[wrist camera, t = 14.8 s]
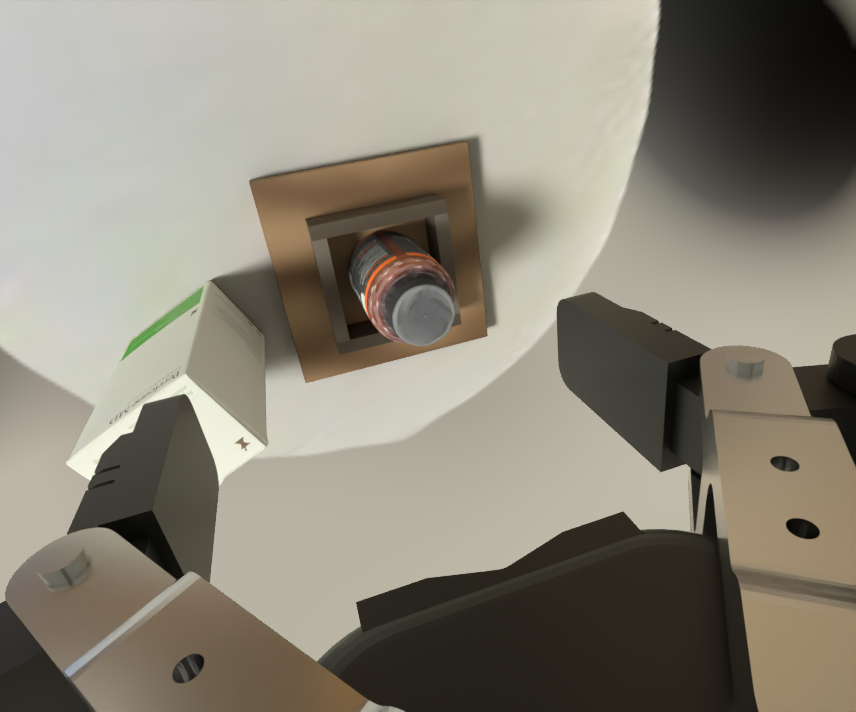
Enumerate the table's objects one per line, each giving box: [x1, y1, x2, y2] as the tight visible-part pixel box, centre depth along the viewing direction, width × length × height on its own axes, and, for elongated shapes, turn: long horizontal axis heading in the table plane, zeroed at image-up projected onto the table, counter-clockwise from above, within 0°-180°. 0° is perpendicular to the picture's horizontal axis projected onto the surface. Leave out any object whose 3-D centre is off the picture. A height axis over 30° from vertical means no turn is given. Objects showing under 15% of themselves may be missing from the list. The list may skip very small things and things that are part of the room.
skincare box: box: [66, 281, 268, 486], centre depth 36 cm, size 8×7×16 cm
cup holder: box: [249, 141, 487, 383], centre depth 42 cm, size 16×16×4 cm
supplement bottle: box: [348, 231, 455, 346], centre depth 37 cm, size 6×6×11 cm
